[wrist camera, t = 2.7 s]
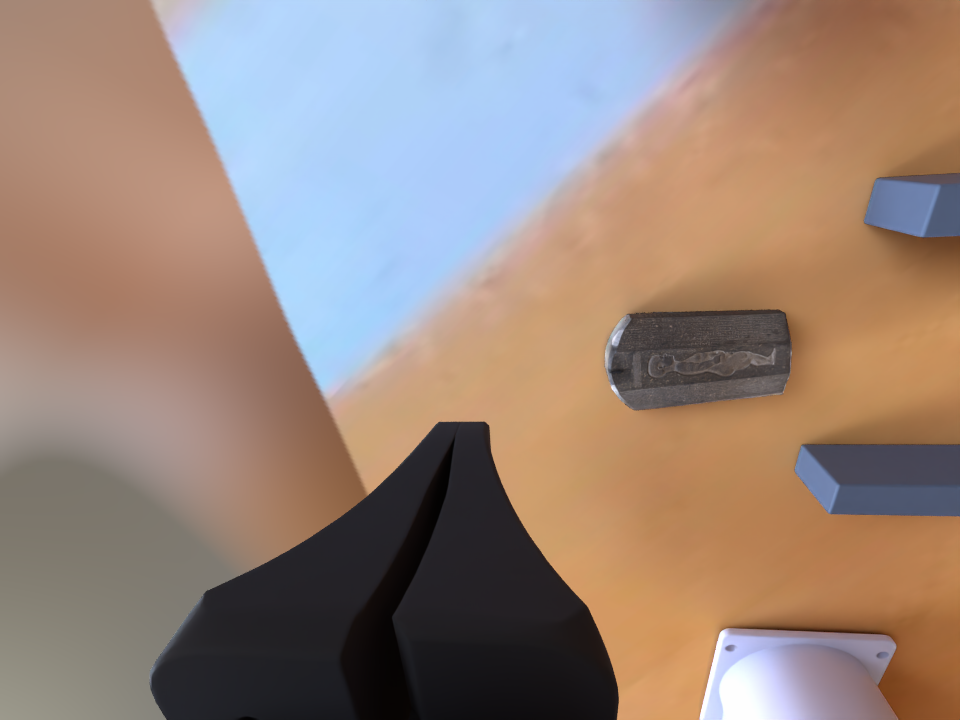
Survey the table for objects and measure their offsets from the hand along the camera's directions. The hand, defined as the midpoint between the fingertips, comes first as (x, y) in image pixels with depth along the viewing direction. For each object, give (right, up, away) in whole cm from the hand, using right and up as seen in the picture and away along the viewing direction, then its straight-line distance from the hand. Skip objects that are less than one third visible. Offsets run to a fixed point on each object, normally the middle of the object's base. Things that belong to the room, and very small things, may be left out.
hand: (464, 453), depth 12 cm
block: (+8, +3, +5) cm, 10 cm away
